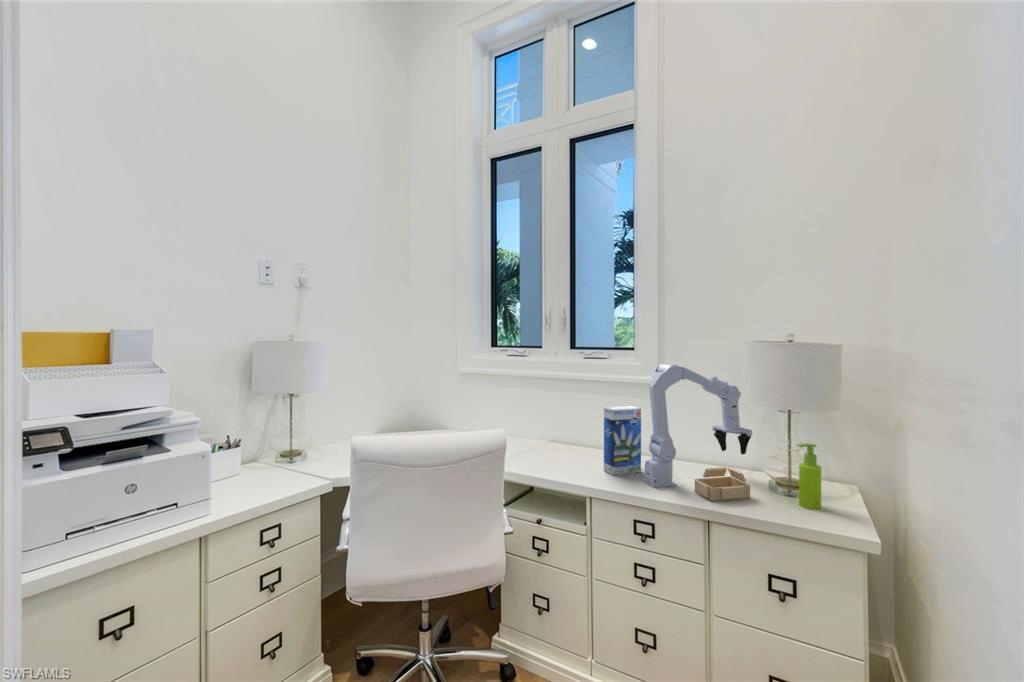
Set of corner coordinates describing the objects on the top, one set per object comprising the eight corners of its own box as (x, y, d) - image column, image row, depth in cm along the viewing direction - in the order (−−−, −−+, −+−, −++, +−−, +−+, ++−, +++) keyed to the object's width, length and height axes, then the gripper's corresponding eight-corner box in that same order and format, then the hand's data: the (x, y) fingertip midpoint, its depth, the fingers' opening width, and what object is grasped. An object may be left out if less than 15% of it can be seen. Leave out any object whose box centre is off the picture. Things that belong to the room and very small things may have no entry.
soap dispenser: (791, 502, 150) (792, 441, 150) (813, 503, 150) (813, 441, 149) (802, 509, 144) (803, 446, 144) (825, 509, 144) (825, 446, 143)
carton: (711, 503, 150) (711, 489, 150) (692, 492, 160) (692, 478, 160) (752, 500, 152) (752, 486, 152) (730, 489, 163) (730, 476, 163)
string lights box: (612, 475, 179) (612, 409, 179) (602, 470, 186) (602, 406, 186) (641, 472, 183) (641, 407, 183) (631, 467, 191) (631, 405, 190)
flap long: (704, 477, 160) (707, 470, 159) (702, 475, 161) (705, 468, 159) (723, 476, 162) (727, 468, 160) (722, 474, 163) (725, 467, 161)
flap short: (744, 482, 155) (740, 473, 155) (731, 476, 161) (727, 468, 161) (746, 481, 155) (741, 472, 155) (733, 475, 162) (729, 466, 161)
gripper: (755, 416, 170) (758, 452, 170) (718, 412, 182) (721, 446, 182) (745, 420, 166) (748, 457, 166) (708, 416, 178) (711, 450, 178)
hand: (733, 452), depth 174 cm, fingers open, 7 cm apart
